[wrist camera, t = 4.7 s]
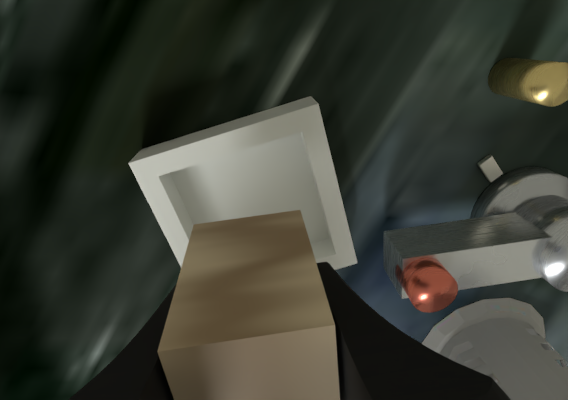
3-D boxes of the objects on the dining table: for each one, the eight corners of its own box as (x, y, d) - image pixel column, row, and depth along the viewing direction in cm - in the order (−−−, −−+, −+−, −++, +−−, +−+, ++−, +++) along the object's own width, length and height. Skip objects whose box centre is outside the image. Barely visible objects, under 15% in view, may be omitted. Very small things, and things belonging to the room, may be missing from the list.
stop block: (300, 209, 14) (334, 324, 8) (308, 294, 15) (342, 436, 10) (193, 224, 14) (157, 351, 8) (213, 308, 15) (194, 460, 10)
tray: (206, 284, 22) (202, 309, 20) (141, 149, 19) (128, 163, 17) (347, 242, 22) (357, 263, 20) (310, 96, 18) (318, 103, 16)
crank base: (472, 265, 24) (508, 301, 20) (458, 73, 18) (502, 81, 15) (563, 239, 23) (613, 271, 20) (575, 36, 18) (644, 37, 15)
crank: (581, 190, 20) (656, 225, 16) (565, 251, 22) (630, 295, 18) (382, 218, 19) (412, 260, 16) (381, 279, 21) (409, 329, 18)
